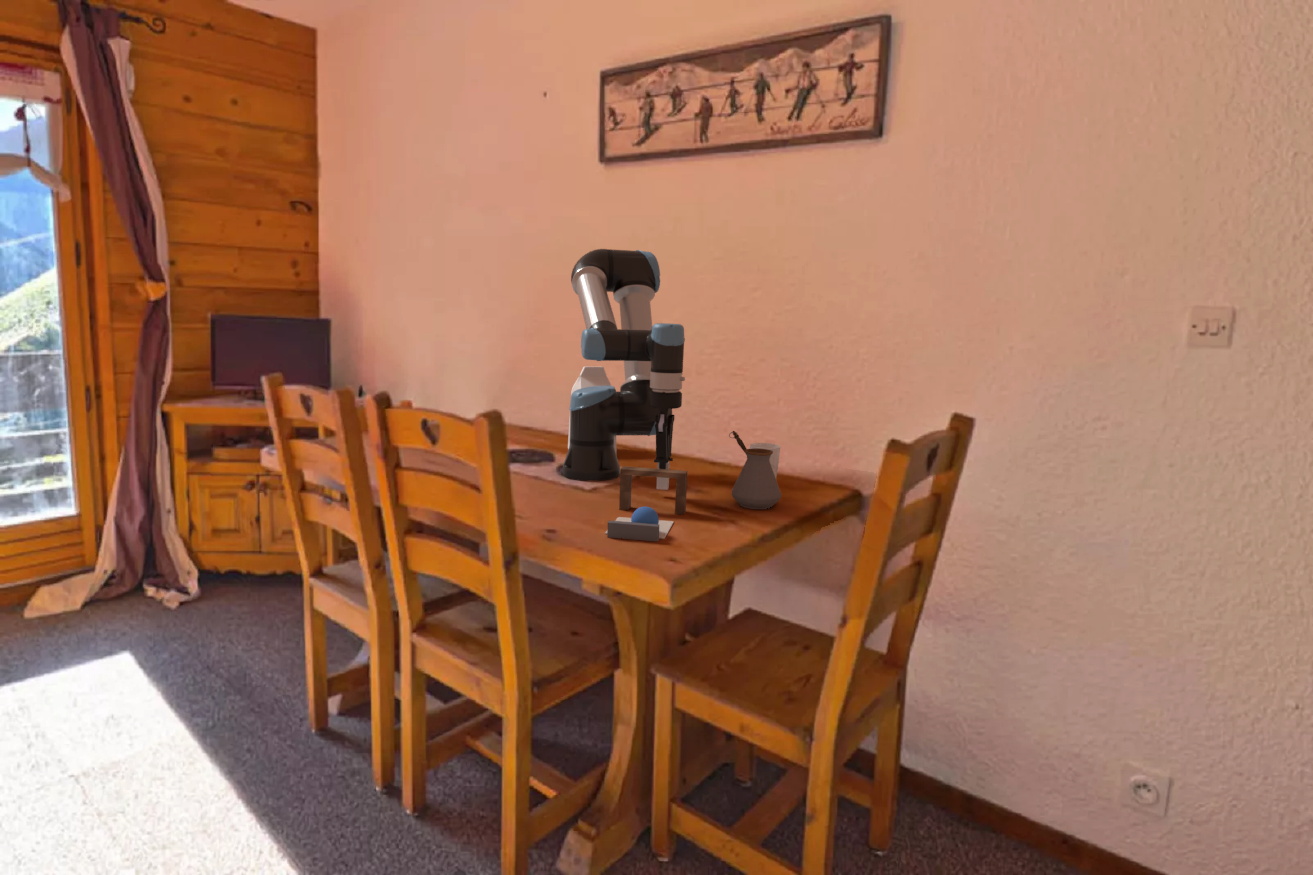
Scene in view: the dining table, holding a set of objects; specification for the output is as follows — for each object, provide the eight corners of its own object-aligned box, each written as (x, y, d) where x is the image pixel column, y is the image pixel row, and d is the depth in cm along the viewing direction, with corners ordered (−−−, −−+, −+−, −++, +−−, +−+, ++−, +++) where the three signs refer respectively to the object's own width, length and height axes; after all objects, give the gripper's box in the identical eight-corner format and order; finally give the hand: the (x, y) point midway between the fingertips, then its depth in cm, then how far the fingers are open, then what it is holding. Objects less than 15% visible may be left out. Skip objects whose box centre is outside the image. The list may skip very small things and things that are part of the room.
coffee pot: (789, 510, 175) (793, 445, 172) (742, 513, 171) (746, 447, 169) (750, 488, 195) (754, 429, 192) (708, 490, 191) (711, 430, 189)
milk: (578, 456, 227) (580, 368, 223) (567, 448, 238) (568, 365, 233) (616, 454, 232) (618, 368, 227) (604, 447, 242) (606, 365, 238)
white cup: (777, 487, 196) (779, 449, 194) (746, 485, 198) (748, 447, 196) (778, 480, 204) (781, 443, 202) (749, 478, 205) (751, 441, 204)
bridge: (619, 509, 170) (620, 469, 169) (622, 506, 173) (623, 466, 172) (683, 514, 168) (685, 473, 166) (685, 511, 171) (687, 470, 169)
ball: (627, 529, 150) (630, 502, 152) (632, 536, 155) (635, 510, 157) (655, 530, 149) (658, 503, 151) (659, 538, 154) (661, 511, 156)
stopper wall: (607, 537, 150) (607, 522, 150) (609, 535, 152) (609, 520, 151) (657, 541, 148) (658, 526, 148) (658, 539, 150) (659, 524, 149)
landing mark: (604, 533, 152) (604, 532, 152) (618, 517, 164) (618, 516, 164) (664, 539, 150) (664, 538, 150) (673, 522, 162) (673, 521, 162)
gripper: (677, 394, 172) (673, 496, 176) (685, 388, 185) (682, 483, 189) (644, 392, 173) (641, 494, 177) (655, 386, 186) (652, 481, 190)
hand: (662, 488), depth 183 cm, fingers closed
